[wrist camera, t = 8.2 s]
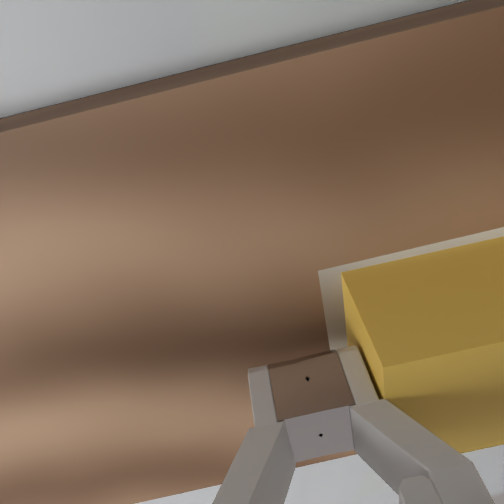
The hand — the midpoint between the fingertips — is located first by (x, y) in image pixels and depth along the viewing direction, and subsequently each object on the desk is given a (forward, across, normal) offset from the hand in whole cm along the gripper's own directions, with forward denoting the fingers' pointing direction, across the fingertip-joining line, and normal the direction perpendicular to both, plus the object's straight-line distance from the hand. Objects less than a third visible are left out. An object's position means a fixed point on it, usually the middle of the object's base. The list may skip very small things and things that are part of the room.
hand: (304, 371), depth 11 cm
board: (+2, -1, 0) cm, 2 cm away
